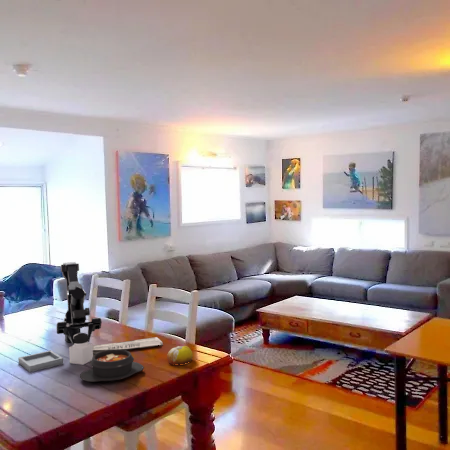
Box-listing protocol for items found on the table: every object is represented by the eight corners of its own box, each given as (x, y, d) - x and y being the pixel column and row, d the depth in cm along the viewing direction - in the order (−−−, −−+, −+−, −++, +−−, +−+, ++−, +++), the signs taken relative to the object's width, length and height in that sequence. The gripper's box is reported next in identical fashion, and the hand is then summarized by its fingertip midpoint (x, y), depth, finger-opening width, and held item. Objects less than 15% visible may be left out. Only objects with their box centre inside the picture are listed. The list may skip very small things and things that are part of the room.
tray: (50, 355, 212) (50, 350, 212) (63, 363, 201) (63, 358, 201) (18, 363, 203) (18, 357, 202) (29, 372, 192) (29, 366, 192)
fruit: (180, 354, 210) (184, 338, 208) (195, 366, 203) (199, 350, 201) (160, 360, 202) (163, 343, 200) (175, 373, 195) (178, 356, 193)
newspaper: (156, 340, 234) (156, 333, 233) (164, 347, 222) (163, 340, 222) (83, 350, 219) (83, 343, 219) (87, 359, 208) (86, 351, 208)
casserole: (88, 391, 172) (87, 369, 172) (74, 375, 188) (73, 355, 187) (151, 376, 186) (150, 355, 185) (133, 362, 201) (132, 343, 201)
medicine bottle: (93, 359, 206) (92, 332, 205) (83, 365, 199) (82, 337, 199) (79, 357, 208) (78, 331, 208) (69, 363, 202) (68, 335, 201)
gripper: (56, 304, 202) (58, 336, 193) (100, 299, 210) (105, 330, 200) (55, 317, 210) (58, 349, 201) (98, 313, 217) (102, 343, 208)
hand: (81, 342), depth 202 cm, fingers closed on medicine bottle, 6 cm apart
